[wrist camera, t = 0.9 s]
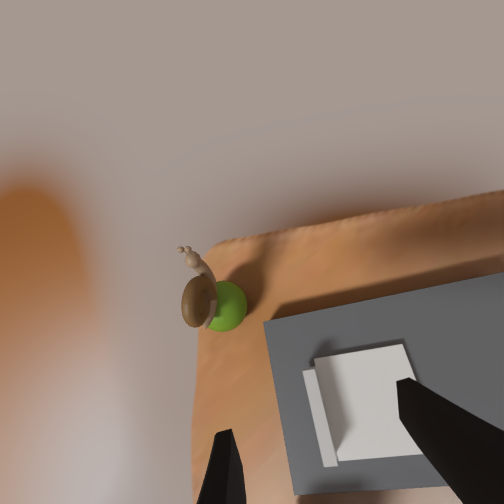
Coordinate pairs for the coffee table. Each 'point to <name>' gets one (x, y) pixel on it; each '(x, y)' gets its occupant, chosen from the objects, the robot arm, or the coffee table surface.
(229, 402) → the coffee table surface
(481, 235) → the coffee table surface
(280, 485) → the coffee table surface
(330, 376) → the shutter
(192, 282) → the snail figurine
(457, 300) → the socket plate
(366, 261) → the coffee table surface
